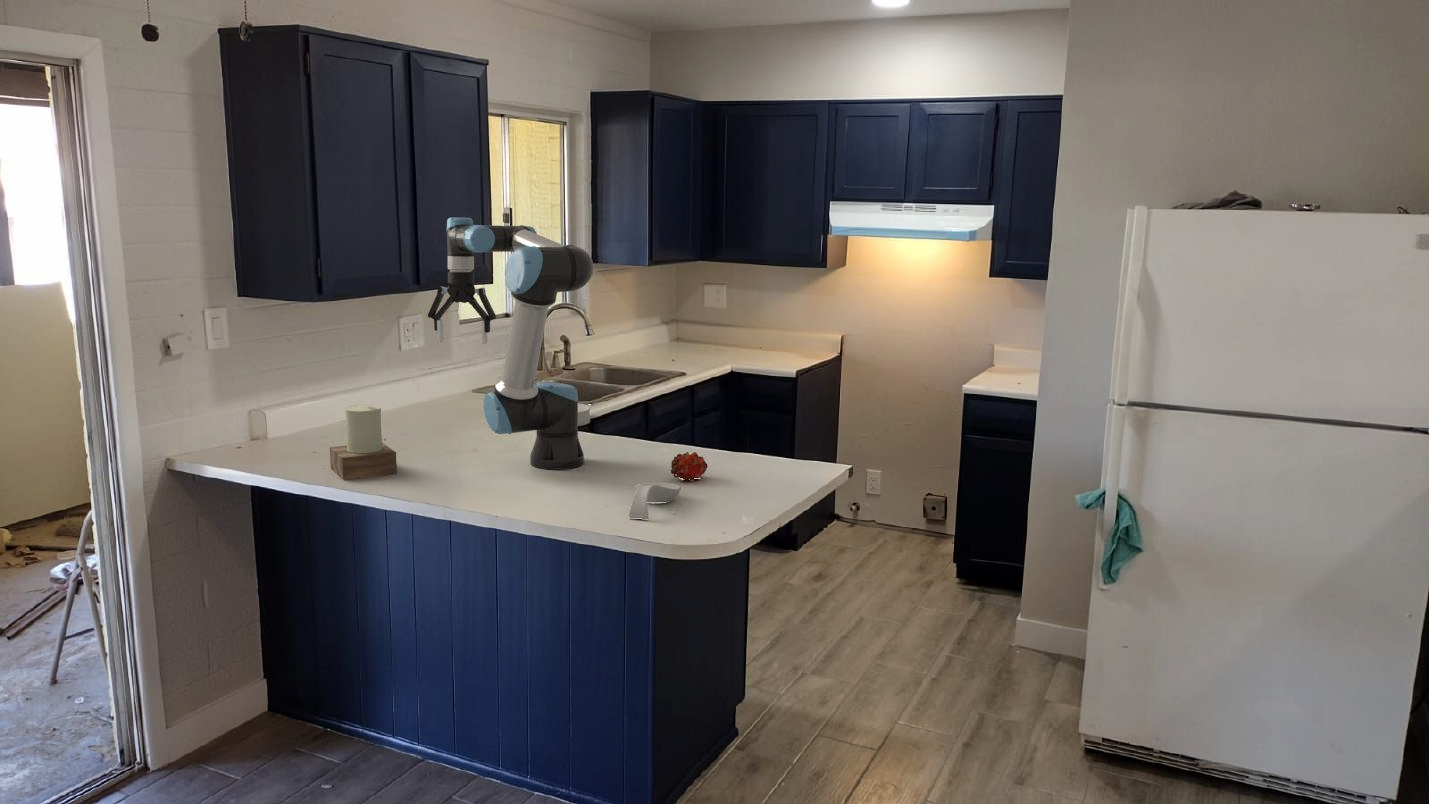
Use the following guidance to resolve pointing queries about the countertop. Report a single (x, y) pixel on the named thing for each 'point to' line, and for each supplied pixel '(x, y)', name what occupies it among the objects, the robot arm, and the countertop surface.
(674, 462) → the red bumpy oval piece
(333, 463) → the walnut block
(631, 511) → the spoon rest
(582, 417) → the dish
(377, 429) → the can
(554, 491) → the countertop surface
